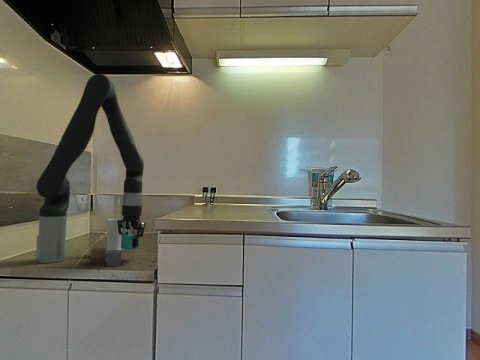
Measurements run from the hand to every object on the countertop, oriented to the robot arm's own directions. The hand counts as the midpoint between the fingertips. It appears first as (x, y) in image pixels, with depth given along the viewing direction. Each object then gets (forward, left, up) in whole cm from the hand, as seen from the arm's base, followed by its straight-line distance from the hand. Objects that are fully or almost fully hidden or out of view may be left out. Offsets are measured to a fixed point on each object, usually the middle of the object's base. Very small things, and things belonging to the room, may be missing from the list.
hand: (130, 246), depth 134 cm
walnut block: (-11, +4, -5) cm, 13 cm away
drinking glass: (-1, +13, -6) cm, 14 cm away
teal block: (0, 0, 0) cm, 0 cm away
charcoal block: (-8, -3, -5) cm, 10 cm away
